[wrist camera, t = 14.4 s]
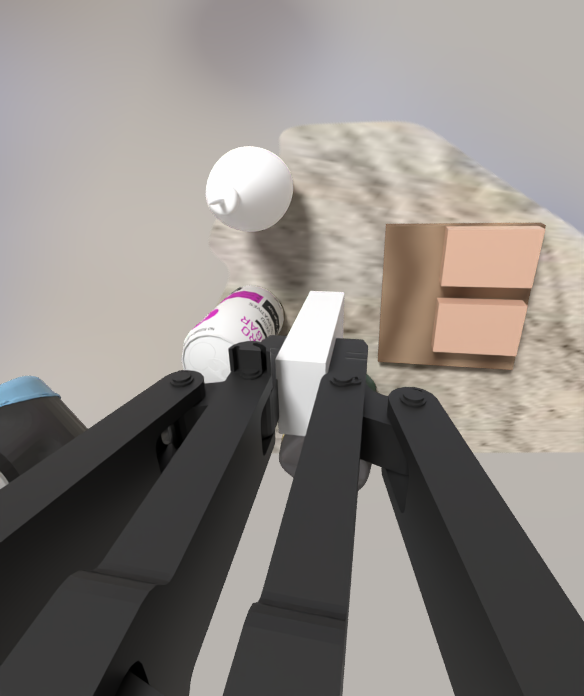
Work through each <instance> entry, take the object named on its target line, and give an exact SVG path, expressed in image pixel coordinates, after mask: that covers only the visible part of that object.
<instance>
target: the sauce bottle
mask: <svg viewBox="0 0 584 696" xmlns="http://www.w3.org/2000/svg"><path fill="white" fill-rule="evenodd" d="M292 195H293V179H292V175H291V172H290V170H289V168H288V166H287V165H286V164H285V163H284V161H283V160H282V159H280V158H279V157H278V156H277V155H275V154H274V153H272V152H270V151H268V150H265V149H262V148H259V147H252V146H249V147H239V148H237V149H233V150H231V151H229V152H228V153H226V154H225V155H223V156H222V157H221V158H220V159H219V160H218V162H217V163H216V164H215V165H214V167H213V169H212V171H211V173H210V175H209V178H208V181H207V186H206V201H207V204H208V207H209V209H210V211H211V212H212V214H213V215H214V216H215V217H216V218H217V219H218V220H219V221H221V222H222V223H224V224H225V225H227V226H229V227H231V228H234V229H236V230H240V231H246V232H256V231H261V230H265V229H267V228H269V227H271V226H273V225H274V224H276V223H277V222H278V221H279V220H280V219H281V218H282V217H283V215H284V214H285V213H286V211H287V209H288V207H289V205H290V202H291V199H292Z"/></svg>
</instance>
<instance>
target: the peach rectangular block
mask: <svg viewBox="0 0 584 696" xmlns="http://www.w3.org/2000/svg"><path fill="white" fill-rule="evenodd" d="M527 307H528V306H527V305H526V304H525V303H524V301H523V300H504V299H469V298H437V302H436V310H435V318H434V326H433V334H432V342H431V345H432V350H433V352H449V353H468V354H486V355H504V356H516V355H517V351H518V346H519V342H520V338H521V333H522V329H523V325H524V320H525V316H526V312H527Z"/></svg>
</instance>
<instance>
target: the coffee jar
mask: <svg viewBox="0 0 584 696" xmlns="http://www.w3.org/2000/svg"><path fill="white" fill-rule="evenodd" d="M366 384H367V385H368V387H369V388H370V389H372V390H373V391H375V392H376V386H375V383H374V382H373V380H372V379H371V378H370V377H369V376H368V375H367V374H366ZM304 439H305V436H298V435H289V434H283V437H282V441H281V447H280V452H279V462H280V464H281V466H282V468H283V469H284V470H285V471H286V472H287V473H288V474H290V475H291V476H292V477H293V478H294V475H295V471H296V468H297V464H298V460H299V457H300V453H301V449H302V446H303V442H304ZM371 465H372V463H369V462H367V461H364V460H361V459H360V472H359V483H358V491H359V489H361V488H362V487H363V486H364V484H365V483H366V481H367V479H368V476H369V473H370V469H371Z"/></svg>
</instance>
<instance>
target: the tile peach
mask: <svg viewBox="0 0 584 696" xmlns="http://www.w3.org/2000/svg"><path fill="white" fill-rule="evenodd" d="M544 233H545V229H544V228H542V227H540V226H446V229H445V237H444V245H443V253H442V261H441V269H440V277H439V282H440V284H441V286H456V287H500V288H532V285H533V281H534V277H535V272H536V268H537V264H538V259H539V255H540V251H541V246H542V242H543V238H544Z"/></svg>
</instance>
